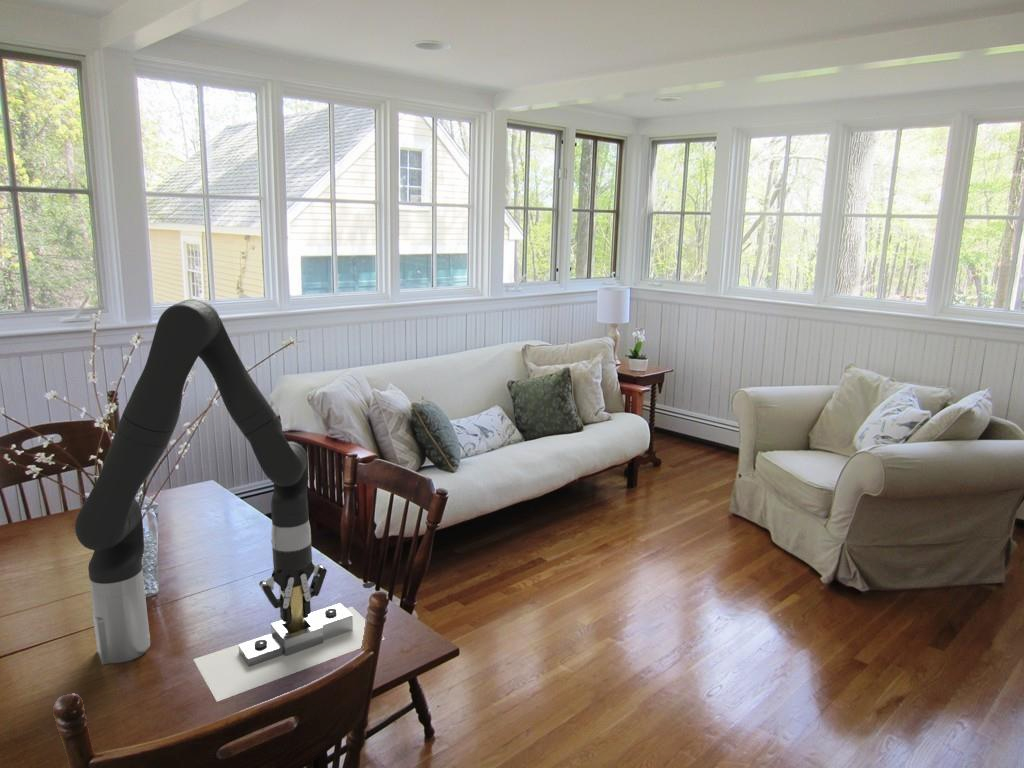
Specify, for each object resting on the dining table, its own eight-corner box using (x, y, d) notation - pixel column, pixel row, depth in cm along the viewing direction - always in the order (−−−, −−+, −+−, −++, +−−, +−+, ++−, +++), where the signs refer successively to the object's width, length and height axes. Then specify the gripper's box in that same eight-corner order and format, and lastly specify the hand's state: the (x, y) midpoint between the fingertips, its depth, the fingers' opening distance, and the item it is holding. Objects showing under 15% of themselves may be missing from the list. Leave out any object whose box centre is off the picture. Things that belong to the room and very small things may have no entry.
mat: (217, 704, 131) (216, 701, 131) (193, 661, 144) (193, 659, 144) (385, 641, 152) (385, 638, 152) (351, 608, 164) (351, 606, 164)
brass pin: (292, 638, 148) (289, 589, 145) (286, 631, 150) (283, 583, 148) (307, 633, 150) (304, 585, 147) (301, 626, 152) (298, 578, 150)
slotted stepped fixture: (250, 669, 141) (248, 649, 140) (237, 650, 147) (236, 632, 146) (354, 631, 154) (353, 613, 153) (339, 616, 160) (338, 599, 159)
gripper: (263, 557, 138) (268, 638, 142) (332, 539, 147) (335, 616, 151) (250, 543, 144) (255, 622, 148) (317, 526, 152) (321, 601, 156)
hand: (296, 618), depth 149 cm, fingers closed on brass pin, 3 cm apart
